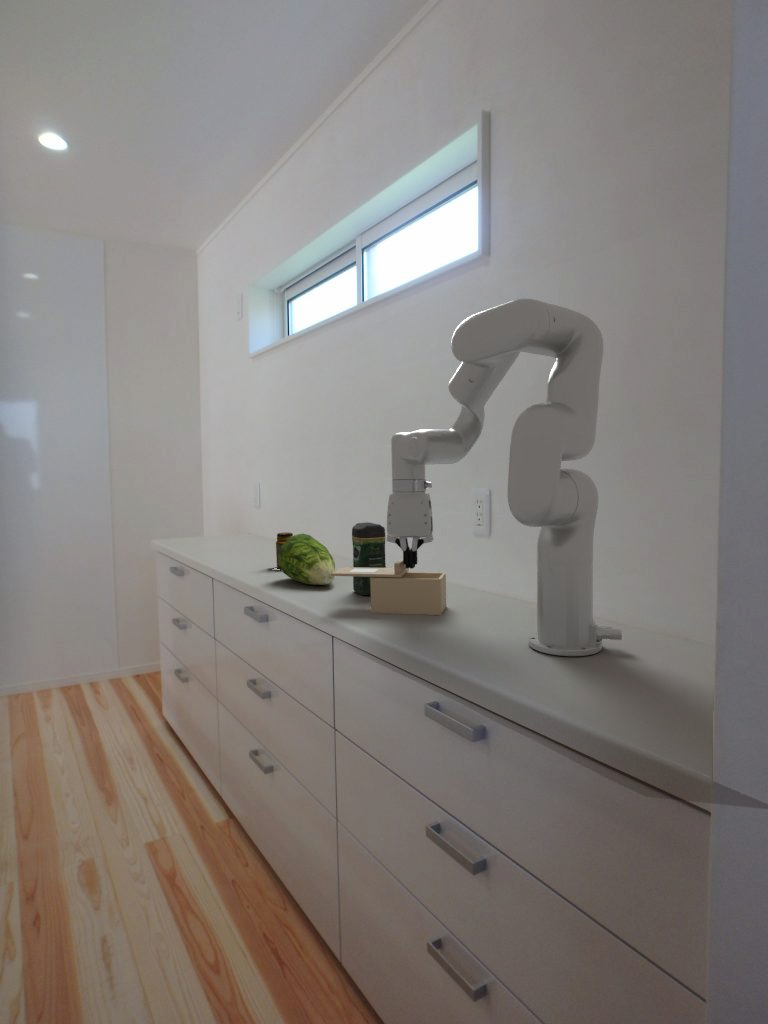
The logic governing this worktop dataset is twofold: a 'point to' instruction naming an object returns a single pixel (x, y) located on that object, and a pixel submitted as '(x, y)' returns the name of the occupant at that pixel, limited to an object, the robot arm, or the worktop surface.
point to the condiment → (280, 541)
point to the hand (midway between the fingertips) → (410, 567)
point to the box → (409, 594)
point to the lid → (373, 571)
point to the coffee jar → (367, 552)
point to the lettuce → (306, 560)
